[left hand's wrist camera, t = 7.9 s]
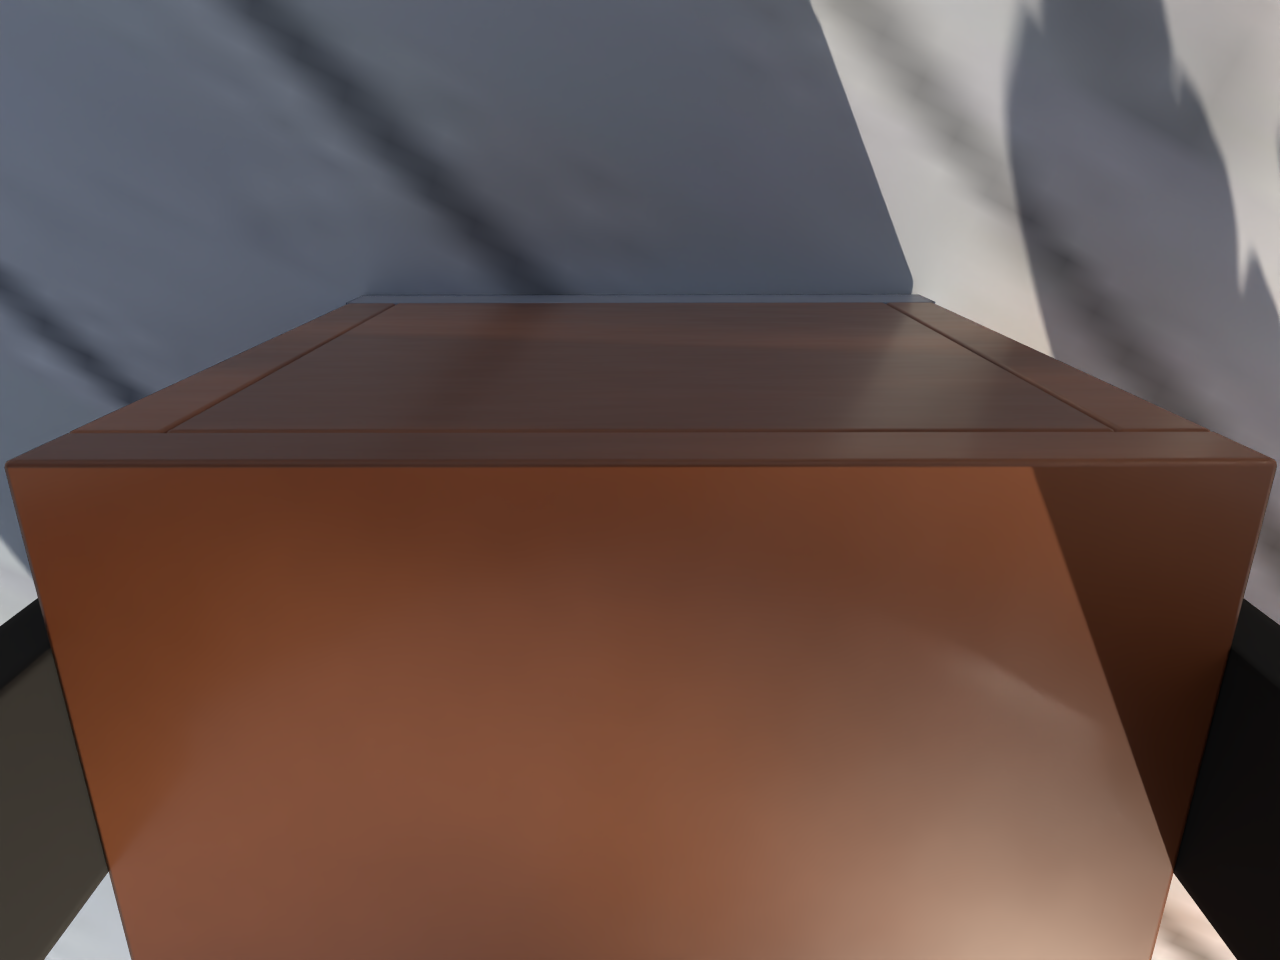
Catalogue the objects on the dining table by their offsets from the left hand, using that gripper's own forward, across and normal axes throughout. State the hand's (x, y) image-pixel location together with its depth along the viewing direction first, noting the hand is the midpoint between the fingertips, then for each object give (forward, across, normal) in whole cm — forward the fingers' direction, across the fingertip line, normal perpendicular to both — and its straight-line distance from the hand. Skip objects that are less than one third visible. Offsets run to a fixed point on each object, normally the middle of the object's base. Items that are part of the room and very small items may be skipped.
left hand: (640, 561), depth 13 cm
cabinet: (+6, 0, -5) cm, 8 cm away
